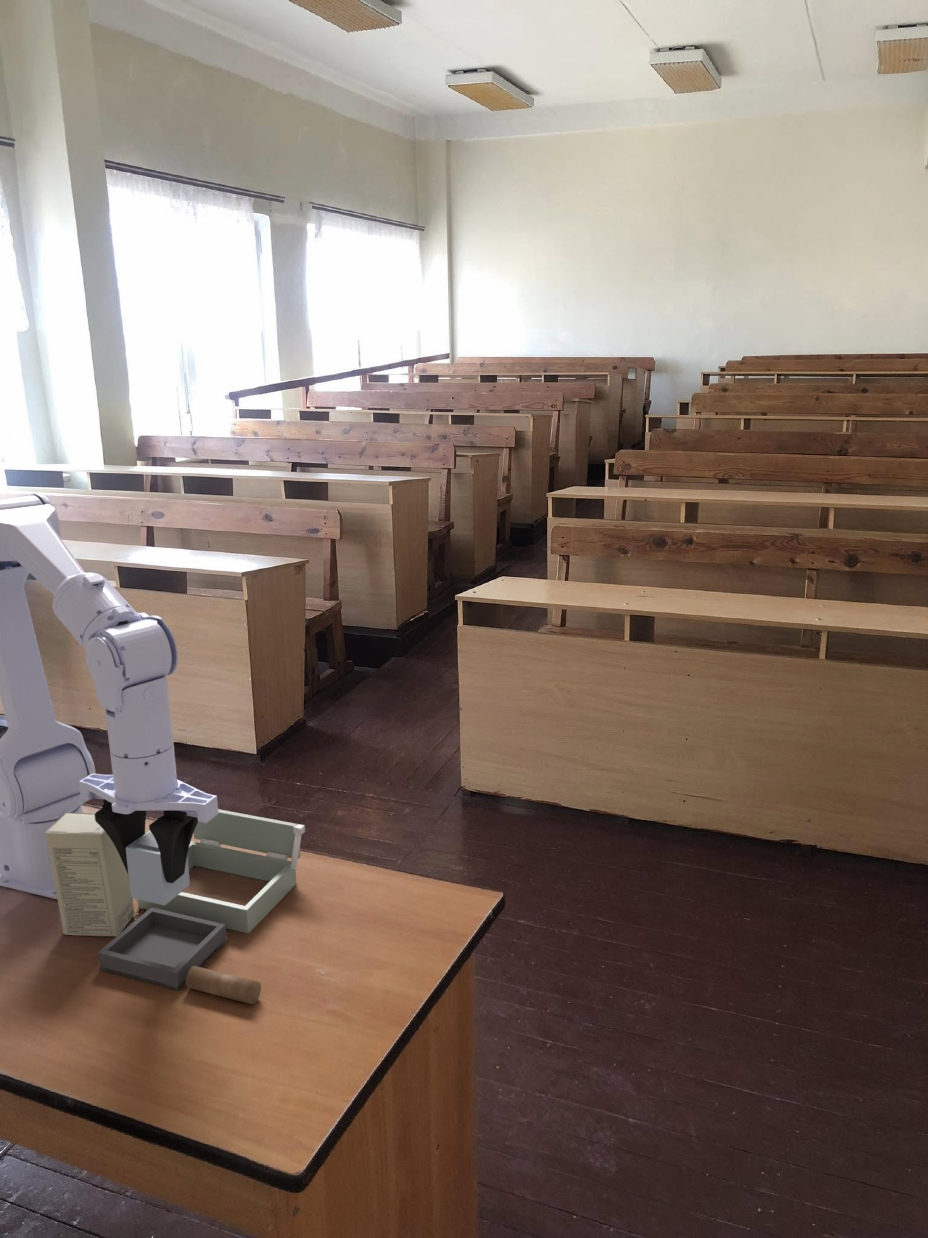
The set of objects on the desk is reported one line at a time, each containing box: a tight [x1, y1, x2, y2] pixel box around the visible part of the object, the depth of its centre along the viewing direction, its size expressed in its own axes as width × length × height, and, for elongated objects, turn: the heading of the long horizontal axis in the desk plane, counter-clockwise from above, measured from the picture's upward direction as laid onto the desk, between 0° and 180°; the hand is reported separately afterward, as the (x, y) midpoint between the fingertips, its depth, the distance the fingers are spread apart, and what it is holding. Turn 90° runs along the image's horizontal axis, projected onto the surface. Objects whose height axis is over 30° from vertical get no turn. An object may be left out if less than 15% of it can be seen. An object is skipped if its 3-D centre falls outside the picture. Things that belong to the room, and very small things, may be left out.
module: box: [126, 830, 191, 905], centre depth 92 cm, size 4×4×6 cm
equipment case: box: [137, 808, 306, 934], centre depth 104 cm, size 15×11×7 cm
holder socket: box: [97, 907, 228, 991], centre depth 94 cm, size 9×8×2 cm
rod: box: [185, 966, 262, 1005], centre depth 89 cm, size 7×2×2 cm, turn 70°
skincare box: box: [46, 812, 136, 937], centre depth 98 cm, size 6×4×12 cm
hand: (155, 873), depth 92 cm, fingers closed on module, 4 cm apart
